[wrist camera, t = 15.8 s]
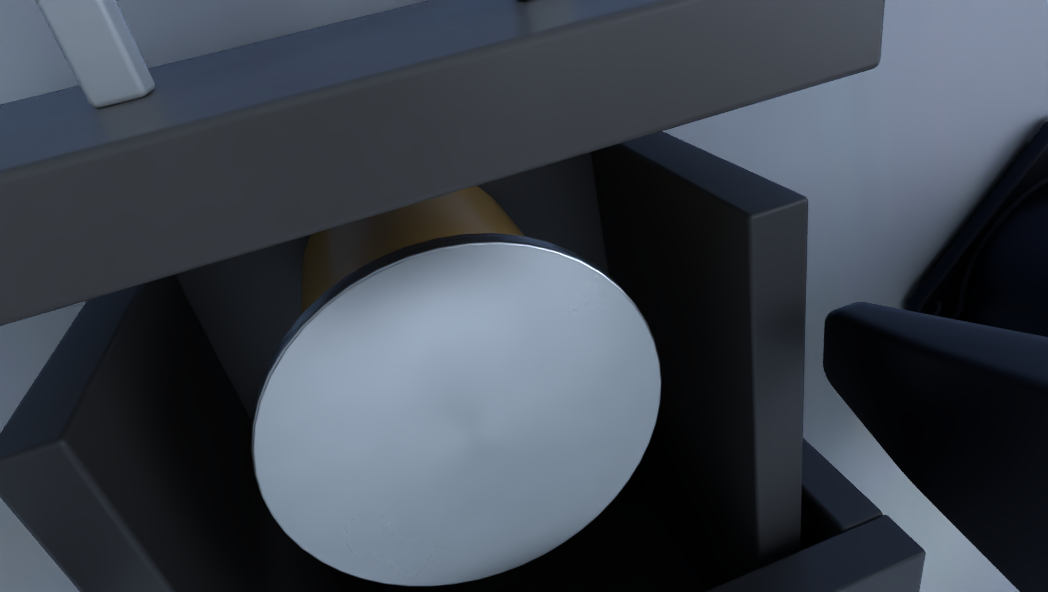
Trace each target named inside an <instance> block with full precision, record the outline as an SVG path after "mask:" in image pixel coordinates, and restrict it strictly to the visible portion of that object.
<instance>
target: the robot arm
mask: <svg viewBox="0 0 1048 592" xmlns="http://www.w3.org/2000/svg"><path fill="white" fill-rule="evenodd" d="M823 367H824V372H825V374H826V377H827V379H828V381H829V382H830V384H831V385H832V386H833V388H834V389H835V390H836V391H837V393H838V394H839V395H840V396H841V397H842V399H843V400H844V401H845V402H846V404H847V405H848V406H849V407H850V408H851V410H852V411H853V412H854V413H855V415H856V416H857V417H858V418H859V420H860V421H861V422H862V423H863V424H864V426H865V427H866V428H867V429H868V431H869V432H870V433H871V434H872V435H873V437H874V438H875V439H876V440H877V442H878V443H879V444H880V445H881V447H882V448H883V449H884V450H885V451H886V453H887V454H888V455H889V456H890V458H891V459H892V460H893V461H894V462H895V464H896V465H897V466H898V467H899V468H900V469H901V471H902V472H903V473H904V474H905V475H906V476H907V477H908V479H909V480H910V481H911V482H912V483H913V484H914V485H915V486H916V487H917V488H918V489H919V490H920V491H921V492H922V493H923V494H924V495H925V496H926V497H927V498H928V499H929V500H930V501H931V503H932V504H933V505H934V506H935V507H936V508H937V509H938V510H939V511H940V512H941V513H942V514H943V515H944V516H945V517H946V518H947V519H948V520H949V521H950V522H951V523H952V524H953V525H954V526H955V527H956V528H957V529H958V530H959V531H960V532H961V533H962V534H963V535H964V536H965V537H966V538H967V539H968V540H969V541H970V542H971V543H972V544H973V545H974V546H975V547H976V548H977V549H978V550H979V551H980V552H981V553H982V554H983V555H984V556H985V557H986V558H987V559H988V560H989V561H990V562H991V563H992V564H993V565H994V566H995V567H996V568H997V569H998V570H999V571H1000V572H1001V573H1002V574H1003V575H1004V576H1005V577H1006V578H1007V579H1008V580H1009V581H1010V582H1011V583H1012V584H1013V585H1014V586H1015V587H1016V588H1017V589H1018V590H1019V591H1020V592H1048V121H1047V122H1046V123H1045V124H1044V125H1043V127H1042V128H1041V129H1040V130H1039V132H1038V133H1037V134H1036V136H1035V137H1034V138H1033V140H1032V141H1031V142H1030V143H1029V145H1028V146H1027V147H1026V149H1025V150H1024V151H1023V152H1022V154H1021V155H1020V156H1019V158H1018V159H1017V160H1016V162H1015V163H1014V164H1013V165H1012V167H1011V168H1010V169H1009V171H1008V172H1007V173H1006V175H1005V176H1004V177H1003V178H1002V180H1001V181H1000V182H999V184H998V185H997V186H996V188H995V189H994V190H993V191H992V193H991V194H990V195H989V197H988V198H987V199H986V201H985V202H984V203H983V204H982V206H981V207H980V208H979V210H978V211H977V212H976V214H975V215H974V216H973V217H972V219H971V220H970V221H969V223H968V224H967V225H966V227H965V228H964V229H963V230H962V232H961V233H960V234H959V236H958V237H957V238H956V240H955V241H954V242H953V243H952V245H951V246H950V247H949V249H948V250H947V251H946V252H945V254H944V255H943V256H942V258H941V259H940V260H939V262H938V263H937V264H936V265H935V267H934V268H933V269H932V271H931V272H930V273H929V275H928V276H927V277H926V278H925V280H924V281H923V282H922V284H921V285H920V286H919V288H918V289H917V290H916V291H915V293H914V294H913V295H912V297H911V298H910V300H909V301H908V303H907V306H906V310H902V309H897V308H891V307H886V306H881V305H876V304H870V303H865V302H856V303H852V304H849V305H847V306H844V307H841V308H838V309H835V310H833V311H831V312H830V313H829V314H828V315H827V317H826V319H825V327H824V352H823Z"/></svg>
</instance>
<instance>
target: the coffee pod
mask: <svg viewBox="0 0 1048 592" xmlns="http://www.w3.org/2000/svg"><path fill="white" fill-rule="evenodd" d="M661 384H662V381H661V369H660V360H659V356H658V352H657V348H656V344H655V340H654V337H653V335H652V333H651V330H650V328H649V326H648V323H647V321H646V319H645V318H644V316H643V315H642V313H641V312H640V310H639V308H638V307H637V305H636V304H635V302H634V301H633V300H632V299H631V298H630V297H629V296H628V295H627V293H626V292H625V291H624V290H623V289H622V288H621V287H620V286H619V285H618V284H617V283H616V282H615V281H614V280H613V279H612V278H611V277H610V276H609V275H607V274H606V273H605V272H604V271H602V270H601V269H600V268H599V267H597V266H596V265H595V264H594V263H592V262H590V261H588V260H587V259H585V258H583V257H581V256H580V255H578V254H576V253H575V252H573V251H570V250H568V249H565V248H563V247H560V246H557V245H555V244H552V243H550V242H546V241H542V240H538V239H534V238H529V237H525V235H524V234H523V233H522V232H521V231H520V229H519V228H518V227H517V226H516V224H515V223H514V222H513V221H512V220H511V218H510V217H509V216H508V215H507V214H506V212H505V211H504V210H503V209H502V208H501V206H500V205H499V204H498V203H497V202H496V201H495V200H494V199H493V198H492V197H491V196H490V195H488V194H487V193H486V192H484V191H483V190H482V189H481V188H479V187H477V186H473V187H470V188H467V189H463V190H460V191H456V192H453V193H450V194H446V195H443V196H439V197H436V198H433V199H429V200H426V201H422V202H419V203H416V204H412V205H409V206H405V207H402V208H399V209H395V210H392V211H388V212H385V213H382V214H378V215H375V216H372V217H368V218H365V219H361V220H358V221H355V222H351V223H348V224H344V225H341V226H338V227H334V228H331V229H327V230H324V231H321V232H317V233H314V234H311V235H310V238H309V241H308V243H307V246H306V248H305V252H304V257H303V261H302V271H301V316H300V317H299V318H298V319H297V321H296V322H295V323H294V324H293V326H292V327H291V328H290V330H289V331H288V332H287V333H286V335H285V336H284V337H283V339H282V340H281V342H280V344H279V346H278V347H277V349H276V351H275V352H274V354H273V356H272V358H271V359H270V361H269V363H268V366H267V368H266V371H265V373H264V376H263V378H262V381H261V383H260V386H259V389H258V394H257V398H256V403H255V408H254V412H253V421H252V436H251V454H252V462H253V470H254V475H255V478H256V481H257V484H258V487H259V491H260V494H261V496H262V498H263V500H264V502H265V504H266V506H267V508H268V509H269V511H270V513H271V515H272V517H273V518H274V519H275V520H276V522H277V523H278V524H279V526H280V527H281V528H282V530H283V531H284V532H285V533H286V534H287V535H288V536H289V537H290V538H291V539H292V540H293V541H294V542H295V543H296V544H297V545H298V546H299V547H300V548H301V549H303V550H304V551H306V552H307V553H309V554H310V555H312V556H313V557H314V558H316V559H317V560H319V561H320V562H322V563H324V564H326V565H328V566H330V567H332V568H334V569H336V570H338V571H340V572H343V573H346V574H349V575H352V576H355V577H358V578H360V579H364V580H369V581H373V582H378V583H382V584H389V585H399V586H442V585H452V584H459V583H464V582H469V581H475V580H479V579H483V578H486V577H490V576H493V575H497V574H500V573H503V572H506V571H508V570H511V569H514V568H516V567H519V566H521V565H524V564H526V563H528V562H530V561H532V560H534V559H536V558H538V557H540V556H542V555H544V554H546V553H548V552H549V551H551V550H553V549H554V548H556V547H558V546H559V545H561V544H563V543H564V542H566V541H567V540H568V539H570V538H571V537H573V536H574V535H575V534H577V533H578V532H580V531H581V530H582V529H584V528H585V527H586V526H587V525H588V524H589V523H590V522H592V521H593V520H594V519H595V518H596V517H597V516H598V515H600V514H601V513H602V511H603V510H604V509H605V508H606V507H607V506H608V505H609V504H610V503H611V502H612V501H613V500H614V499H615V498H616V496H617V495H618V494H619V493H620V491H621V490H622V489H623V487H624V486H625V485H626V484H627V482H628V481H629V480H630V478H631V476H632V475H633V473H634V471H635V470H636V468H637V467H638V465H639V463H640V462H641V460H642V458H643V455H644V453H645V451H646V449H647V447H648V445H649V443H650V440H651V437H652V434H653V431H654V428H655V425H656V422H657V417H658V412H659V407H660V401H661Z"/></svg>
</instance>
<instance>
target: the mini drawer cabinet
mask: <svg viewBox="0 0 1048 592" xmlns="http://www.w3.org/2000/svg"><path fill="white" fill-rule="evenodd" d="M925 554H926V553H925V551H924V549H923V548H921V547H920V546H919V545H918V544H917V543H916V542H915V541H914V540H913V539H912V538H911V537H910V536H909V535H908V534H907V533H905V532H904V531H903V530H902V529H901V528H900V527H899V526H898V525H897V524H896V523H895V522H894V521H893V520H892V519H891V518H889V517H888V516H887V515H882V512H881V511H880V510H879V509H878V508H877V507H876V506H875V505H874V504H873V503H872V502H871V501H870V500H869V499H868V498H867V497H866V496H865V495H864V494H862V493H861V492H860V491H859V490H858V489H857V488H856V487H855V486H854V485H853V484H852V483H851V482H850V481H849V480H848V479H846V478H845V477H844V476H843V475H842V474H841V473H840V472H839V471H838V470H837V469H836V468H835V467H834V466H833V465H832V464H831V463H829V462H828V461H827V460H826V459H825V458H824V457H823V456H822V455H821V454H820V453H819V452H818V451H817V450H816V449H815V448H814V447H812V446H811V445H810V444H809V443H808V442H807V441H806V440H805V439H804V438H803V444H802V487H801V530H800V551H799V552H796V553H794V554H792V555H789V556H787V557H785V558H782V559H780V560H778V561H775V562H773V563H771V564H768V565H766V566H764V567H761V568H759V569H757V570H754V571H752V572H749V573H747V574H745V575H742V576H740V577H738V578H735V579H733V580H731V581H728V582H726V583H724V584H721V585H719V586H717V587H714V588H712V589H710V590H707V591H705V592H919V589H920V583H921V577H922V572H923V566H924V560H925Z"/></svg>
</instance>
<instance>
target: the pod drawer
mask: <svg viewBox="0 0 1048 592" xmlns="http://www.w3.org/2000/svg"><path fill="white" fill-rule="evenodd" d="M35 1H36V3H37V5H38V7H39V8H40V10H41V12H42V14H43V16H44V18H45V20H46V22H47V24H48V26H49V28H50V29H51V31H52V33H53V35H54V37H55V39H56V41H57V43H58V45H59V47H60V48H61V50H62V52H63V54H64V56H65V58H66V60H67V62H68V64H69V66H70V68H71V69H72V71H73V73H74V75H75V77H76V79H77V81H78V83H79V85H80V86H76V87H71V88H67V89H63V90H59V91H55V92H51V93H47V94H43V95H39V96H34V97H30V98H26V99H22V100H18V101H14V102H10V103H6V104H2V105H0V326H2V325H5V324H8V323H12V322H15V321H19V320H22V319H25V318H29V317H32V316H36V315H39V314H42V313H46V312H49V311H53V310H56V309H59V308H63V307H66V306H69V305H73V304H76V303H80V302H83V301H86V300H87V302H86V303H85V305H84V306H83V308H82V309H81V311H80V312H79V314H78V315H77V317H76V318H75V320H74V321H73V323H72V324H71V326H70V328H69V329H68V331H67V332H66V334H65V335H64V337H63V338H62V340H61V341H60V343H59V344H58V346H57V347H56V349H55V350H54V352H53V354H52V355H51V357H50V358H49V360H48V361H47V363H46V364H45V366H44V367H43V369H42V370H41V372H40V373H39V375H38V376H37V378H36V380H35V381H34V383H33V384H32V386H31V387H30V389H29V390H28V392H27V393H26V395H25V396H24V398H23V399H22V401H21V403H20V404H19V406H18V407H17V409H16V410H15V412H14V413H13V415H12V416H11V418H10V419H9V421H8V422H7V424H6V425H5V427H4V429H3V430H2V432H1V433H0V497H1V499H2V500H3V501H4V502H5V503H6V504H7V506H8V507H9V508H10V509H11V510H12V512H13V513H14V514H15V515H16V516H17V518H18V519H19V520H20V521H21V522H22V523H23V525H24V526H25V527H26V528H27V529H28V531H29V532H30V533H31V534H32V535H33V536H34V538H35V539H36V540H37V541H38V542H39V544H40V545H41V546H42V547H43V548H44V549H45V551H46V552H47V553H48V554H49V555H50V557H51V558H52V559H53V560H54V561H55V563H56V564H57V565H58V566H59V567H60V568H61V570H62V571H63V572H64V573H65V574H66V576H67V577H68V578H69V579H70V580H71V581H72V583H73V584H74V585H75V586H76V587H77V589H78V590H79V591H80V592H705V591H707V590H710V589H712V588H714V587H717V586H719V585H721V584H724V583H726V582H728V581H731V580H733V579H735V578H738V577H740V576H742V575H745V574H747V573H749V572H752V571H754V570H757V569H759V568H761V567H764V566H766V565H768V564H771V563H773V562H775V561H778V560H780V559H782V558H785V557H787V556H789V555H792V554H794V553H796V552H799V551H800V530H801V487H802V444H803V401H804V357H805V314H806V271H807V228H808V199H807V198H806V197H805V196H803V195H801V194H799V193H796V192H794V191H792V190H790V189H788V188H785V187H783V186H781V185H779V184H777V183H774V182H772V181H770V180H768V179H766V178H763V177H761V176H759V175H757V174H755V173H752V172H750V171H748V170H746V169H744V168H741V167H739V166H737V165H735V164H733V163H730V162H728V161H726V160H724V159H722V158H719V157H717V156H715V155H713V154H711V153H708V152H706V151H704V150H702V149H700V148H697V147H695V146H693V145H691V144H689V143H686V142H684V141H682V140H680V139H678V138H675V137H673V136H671V135H669V134H667V133H664V132H662V131H663V130H667V129H670V128H674V127H677V126H680V125H684V124H687V123H691V122H694V121H697V120H701V119H704V118H708V117H711V116H714V115H718V114H721V113H724V112H728V111H731V110H735V109H738V108H741V107H745V106H748V105H752V104H755V103H758V102H762V101H765V100H769V99H772V98H775V97H779V96H782V95H786V94H789V93H792V92H796V91H799V90H803V89H806V88H809V87H813V86H816V85H820V84H823V83H826V82H830V81H833V80H836V79H840V78H843V77H847V76H850V75H853V74H857V73H860V72H864V71H867V70H870V69H873V68H875V67H876V66H878V64H879V62H880V57H881V43H882V30H883V16H884V2H885V0H429V1H425V2H421V3H417V4H413V5H409V6H405V7H400V8H396V9H392V10H388V11H384V12H380V13H376V14H372V15H368V16H363V17H359V18H355V19H351V20H347V21H343V22H339V23H335V24H331V25H326V26H322V27H318V28H314V29H310V30H306V31H302V32H298V33H294V34H289V35H285V36H281V37H277V38H273V39H269V40H265V41H261V42H257V43H252V44H248V45H244V46H240V47H236V48H232V49H228V50H224V51H220V52H215V53H211V54H207V55H203V56H199V57H195V58H191V59H187V60H183V61H178V62H174V63H170V64H166V65H162V66H158V67H154V68H150V69H148V68H147V66H146V64H145V62H144V60H143V57H142V55H141V53H140V51H139V49H138V47H137V45H136V42H135V40H134V38H133V36H132V34H131V32H130V30H129V27H128V25H127V23H126V21H125V19H124V17H123V15H122V12H121V10H120V8H119V6H118V4H117V2H116V0H35ZM473 186H477V187H479V188H481V189H482V190H483V191H484V192H486V193H487V194H488V195H490V196H491V197H492V198H493V199H494V200H495V201H496V202H497V203H498V204H499V205H500V206H501V208H502V209H503V210H504V211H505V212H506V214H507V215H508V216H509V217H510V218H511V220H512V221H513V222H514V223H515V224H516V226H517V227H518V228H519V229H520V231H521V232H522V233H523V234H524V235H525V237H529V238H534V239H538V240H542V241H546V242H550V243H552V244H555V245H557V246H560V247H563V248H565V249H568V250H570V251H573V252H575V253H576V254H578V255H580V256H581V257H583V258H585V259H587V260H588V261H590V262H592V263H594V264H595V265H596V266H597V267H599V268H600V269H601V270H602V271H604V272H605V273H606V274H607V275H609V276H610V277H611V278H612V279H613V280H614V281H615V282H616V283H617V284H618V285H619V286H620V287H621V288H622V289H623V290H624V291H625V292H626V293H627V295H628V296H629V297H630V298H631V299H632V300H633V301H634V302H635V304H636V305H637V307H638V308H639V310H640V312H641V313H642V315H643V316H644V318H645V319H646V321H647V323H648V326H649V328H650V330H651V333H652V335H653V337H654V340H655V344H656V348H657V352H658V356H659V360H660V369H661V381H662V384H661V401H660V407H659V412H658V417H657V422H656V425H655V428H654V431H653V434H652V437H651V440H650V443H649V445H648V447H647V449H646V451H645V453H644V455H643V458H642V460H641V462H640V463H639V465H638V467H637V468H636V470H635V471H634V473H633V475H632V476H631V478H630V480H629V481H628V482H627V484H626V485H625V486H624V487H623V489H622V490H621V491H620V493H619V494H618V495H617V496H616V498H615V499H614V500H613V501H612V502H611V503H610V504H609V505H608V506H607V507H606V508H605V509H604V510H603V511H602V513H601V514H600V515H598V516H597V517H596V518H595V519H594V520H593V521H592V522H590V523H589V524H588V525H587V526H586V527H585V528H584V529H582V530H581V531H580V532H578V533H577V534H575V535H574V536H573V537H571V538H570V539H568V540H567V541H566V542H564V543H563V544H561V545H559V546H558V547H556V548H554V549H553V550H551V551H549V552H548V553H546V554H544V555H542V556H540V557H538V558H536V559H534V560H532V561H530V562H528V563H526V564H524V565H521V566H519V567H516V568H514V569H511V570H508V571H506V572H503V573H500V574H497V575H493V576H490V577H486V578H483V579H479V580H475V581H469V582H464V583H459V584H452V585H442V586H399V585H389V584H382V583H378V582H373V581H369V580H364V579H360V578H358V577H355V576H352V575H349V574H346V573H343V572H340V571H338V570H336V569H334V568H332V567H330V566H328V565H326V564H324V563H322V562H320V561H319V560H317V559H316V558H314V557H313V556H312V555H310V554H309V553H307V552H306V551H304V550H303V549H301V548H300V547H299V546H298V545H297V544H296V543H295V542H294V541H293V540H292V539H291V538H290V537H289V536H288V535H287V534H286V533H285V532H284V531H283V530H282V528H281V527H280V526H279V524H278V523H277V522H276V520H275V519H274V518H273V517H272V515H271V513H270V511H269V509H268V508H267V506H266V504H265V502H264V500H263V498H262V496H261V494H260V491H259V487H258V484H257V481H256V478H255V475H254V470H253V462H252V454H251V436H252V421H253V412H254V408H255V403H256V398H257V394H258V389H259V386H260V383H261V381H262V378H263V376H264V373H265V371H266V368H267V366H268V363H269V361H270V359H271V358H272V356H273V354H274V352H275V351H276V349H277V347H278V346H279V344H280V342H281V340H282V339H283V337H284V336H285V335H286V333H287V332H288V331H289V330H290V328H291V327H292V326H293V324H294V323H295V322H296V321H297V319H298V318H299V317H300V316H301V271H302V261H303V257H304V252H305V248H306V246H307V243H308V241H309V238H310V235H311V234H314V233H317V232H321V231H324V230H327V229H331V228H334V227H338V226H341V225H344V224H348V223H351V222H355V221H358V220H361V219H365V218H368V217H372V216H375V215H378V214H382V213H385V212H388V211H392V210H395V209H399V208H402V207H405V206H409V205H412V204H416V203H419V202H422V201H426V200H429V199H433V198H436V197H439V196H443V195H446V194H450V193H453V192H456V191H460V190H463V189H467V188H470V187H473Z"/></svg>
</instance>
